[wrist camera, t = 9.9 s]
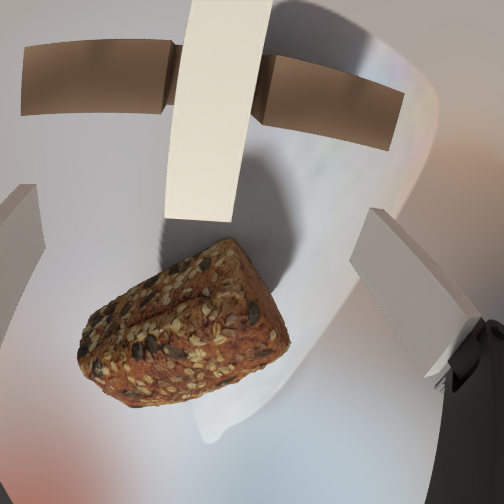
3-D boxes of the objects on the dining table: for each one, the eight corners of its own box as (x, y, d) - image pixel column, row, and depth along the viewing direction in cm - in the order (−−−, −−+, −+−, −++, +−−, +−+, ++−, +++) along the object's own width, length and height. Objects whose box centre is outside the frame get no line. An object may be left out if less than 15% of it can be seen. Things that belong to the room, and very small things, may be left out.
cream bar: (200, -22, 16) (205, -57, 10) (254, -14, 17) (282, -44, 11) (170, 172, 25) (163, 218, 18) (219, 175, 26) (230, 222, 19)
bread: (231, 225, 29) (251, 300, 21) (278, 298, 35) (304, 372, 27) (83, 308, 31) (64, 384, 23) (143, 360, 37) (141, 430, 29)
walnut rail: (72, 47, 17) (24, 47, 11) (348, 79, 23) (404, 93, 16) (67, 96, 19) (21, 115, 13) (337, 123, 25) (388, 151, 18)
